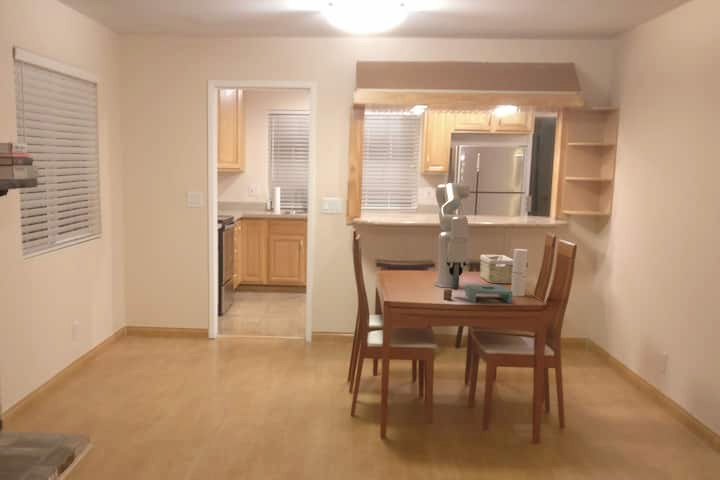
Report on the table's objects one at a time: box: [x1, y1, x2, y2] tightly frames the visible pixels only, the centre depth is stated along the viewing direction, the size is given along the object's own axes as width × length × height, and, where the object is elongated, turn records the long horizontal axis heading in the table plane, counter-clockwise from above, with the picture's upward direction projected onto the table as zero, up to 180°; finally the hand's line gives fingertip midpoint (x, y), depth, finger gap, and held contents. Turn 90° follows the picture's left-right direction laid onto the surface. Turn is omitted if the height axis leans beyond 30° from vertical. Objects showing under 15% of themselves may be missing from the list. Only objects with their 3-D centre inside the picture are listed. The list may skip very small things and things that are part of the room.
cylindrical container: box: [510, 248, 529, 297], centre depth 306 cm, size 7×7×25 cm
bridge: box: [465, 283, 513, 304], centre depth 293 cm, size 16×20×6 cm
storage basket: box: [479, 253, 513, 284], centre depth 348 cm, size 24×16×15 cm
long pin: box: [450, 262, 460, 291], centre depth 295 cm, size 4×4×14 cm
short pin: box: [443, 288, 453, 301], centre depth 289 cm, size 4×4×5 cm
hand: (455, 274), depth 295 cm, fingers closed on long pin, 4 cm apart
